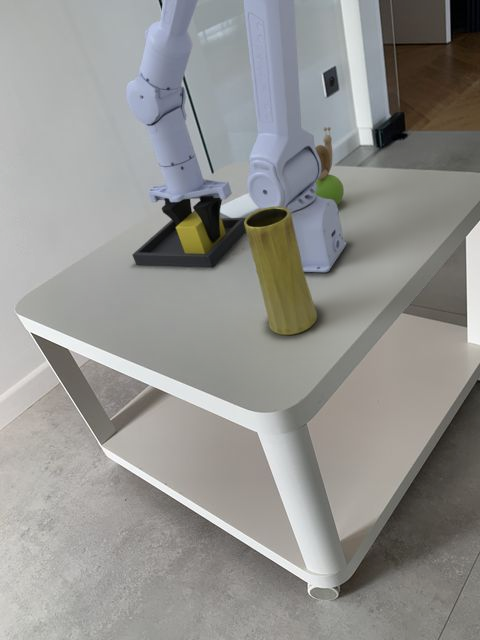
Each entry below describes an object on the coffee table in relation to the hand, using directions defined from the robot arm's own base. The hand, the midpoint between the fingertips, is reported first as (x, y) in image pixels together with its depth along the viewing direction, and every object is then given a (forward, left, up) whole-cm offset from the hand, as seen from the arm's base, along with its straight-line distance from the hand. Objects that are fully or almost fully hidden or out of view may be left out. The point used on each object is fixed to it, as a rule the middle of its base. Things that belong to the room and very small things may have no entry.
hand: (204, 239), depth 91 cm
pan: (+3, 0, -1) cm, 3 cm away
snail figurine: (-17, -14, -2) cm, 22 cm away
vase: (-24, +18, -2) cm, 30 cm away
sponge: (0, 0, -1) cm, 1 cm away
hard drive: (-2, -14, -2) cm, 14 cm away
